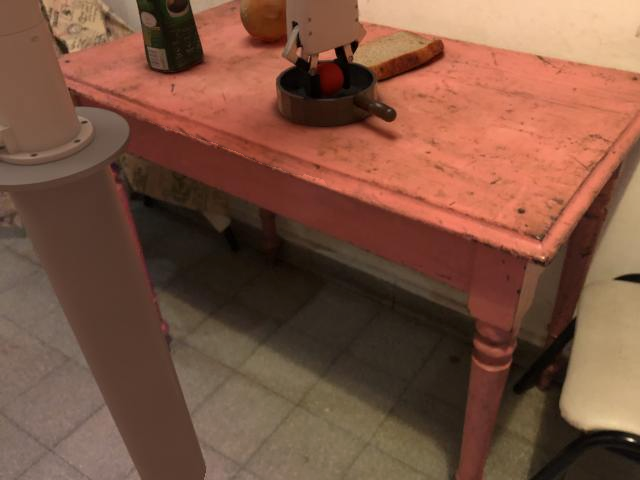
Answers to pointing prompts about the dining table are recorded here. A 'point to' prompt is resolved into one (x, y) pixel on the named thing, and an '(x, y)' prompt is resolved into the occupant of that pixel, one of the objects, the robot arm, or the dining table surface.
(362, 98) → the pan handle
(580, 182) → the dining table surface
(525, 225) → the dining table surface
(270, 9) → the onion
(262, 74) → the dining table surface
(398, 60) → the bread slice
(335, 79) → the ball
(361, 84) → the pan
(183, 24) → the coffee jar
